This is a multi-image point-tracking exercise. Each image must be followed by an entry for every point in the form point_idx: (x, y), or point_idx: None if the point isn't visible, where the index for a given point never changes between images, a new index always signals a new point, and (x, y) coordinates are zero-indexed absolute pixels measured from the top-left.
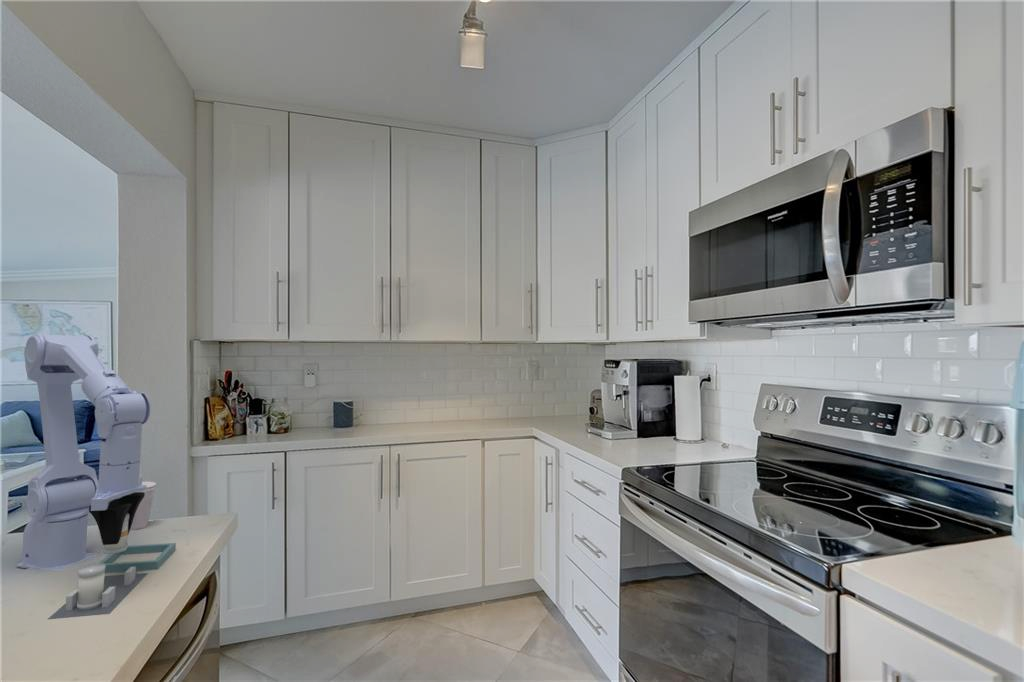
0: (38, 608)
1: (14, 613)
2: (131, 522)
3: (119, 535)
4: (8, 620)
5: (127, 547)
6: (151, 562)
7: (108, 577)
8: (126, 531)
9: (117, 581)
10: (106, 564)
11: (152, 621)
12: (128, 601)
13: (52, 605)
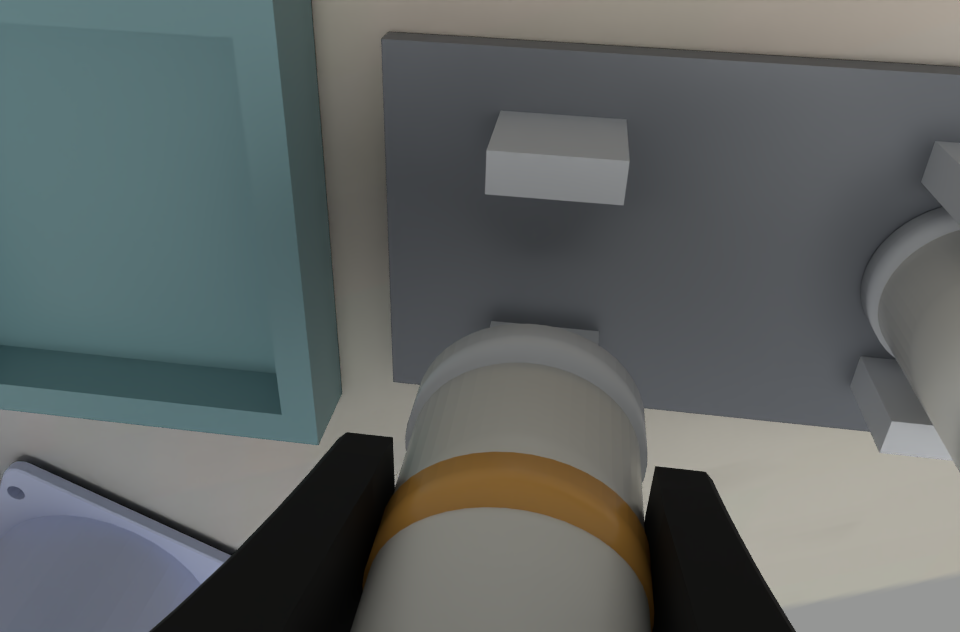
0: (762, 521)
1: (781, 591)
2: (300, 545)
3: (735, 545)
4: (869, 590)
5: (498, 332)
6: (277, 53)
7: (425, 310)
8: (542, 501)
9: (523, 230)
10: (300, 385)
11: None
12: (925, 29)
13: (747, 474)
